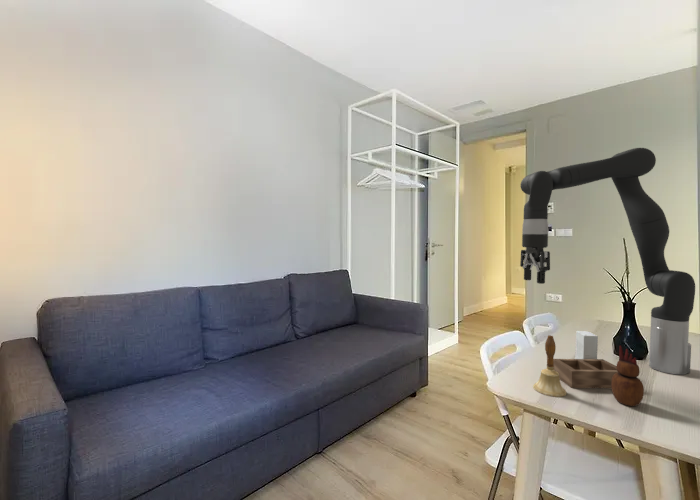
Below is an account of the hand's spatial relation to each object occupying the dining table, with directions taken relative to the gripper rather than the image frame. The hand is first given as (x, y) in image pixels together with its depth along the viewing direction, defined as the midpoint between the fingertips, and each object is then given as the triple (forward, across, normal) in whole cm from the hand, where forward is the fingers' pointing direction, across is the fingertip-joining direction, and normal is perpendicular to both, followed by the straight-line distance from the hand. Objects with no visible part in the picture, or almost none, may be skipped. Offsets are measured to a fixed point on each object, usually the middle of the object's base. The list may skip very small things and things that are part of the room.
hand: (533, 281), depth 113 cm
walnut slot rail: (+29, -10, -12) cm, 33 cm away
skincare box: (+30, 0, -18) cm, 35 cm away
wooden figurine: (+30, -24, -13) cm, 40 cm away
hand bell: (+30, -16, +3) cm, 34 cm away
